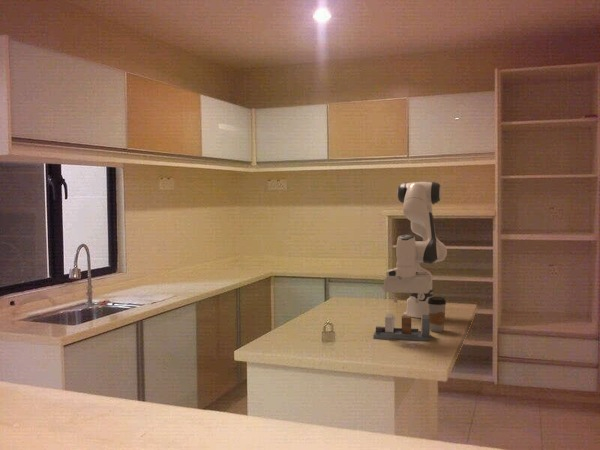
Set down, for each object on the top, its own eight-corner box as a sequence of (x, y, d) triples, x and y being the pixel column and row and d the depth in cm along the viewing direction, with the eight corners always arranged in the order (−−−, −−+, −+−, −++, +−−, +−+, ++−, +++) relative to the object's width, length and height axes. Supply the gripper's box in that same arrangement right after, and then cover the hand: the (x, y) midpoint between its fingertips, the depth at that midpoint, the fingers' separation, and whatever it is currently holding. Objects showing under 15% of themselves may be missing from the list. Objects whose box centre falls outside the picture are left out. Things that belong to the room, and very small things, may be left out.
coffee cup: (433, 332, 265) (433, 300, 264) (424, 329, 273) (424, 297, 272) (449, 331, 267) (449, 299, 266) (440, 327, 275) (440, 296, 274)
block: (402, 332, 260) (402, 315, 260) (411, 332, 259) (411, 315, 259) (401, 334, 256) (401, 317, 256) (410, 334, 255) (410, 317, 255)
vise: (376, 332, 267) (376, 312, 267) (429, 334, 261) (429, 314, 261) (373, 338, 255) (373, 317, 255) (429, 341, 250) (429, 319, 249)
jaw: (377, 329, 265) (376, 313, 265) (394, 330, 263) (394, 313, 263) (374, 333, 257) (374, 316, 256) (393, 334, 255) (393, 317, 255)
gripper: (430, 271, 257) (430, 302, 258) (384, 270, 262) (384, 300, 263) (430, 273, 251) (430, 304, 252) (382, 272, 256) (382, 303, 257)
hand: (406, 302), depth 258 cm, fingers open, 8 cm apart
